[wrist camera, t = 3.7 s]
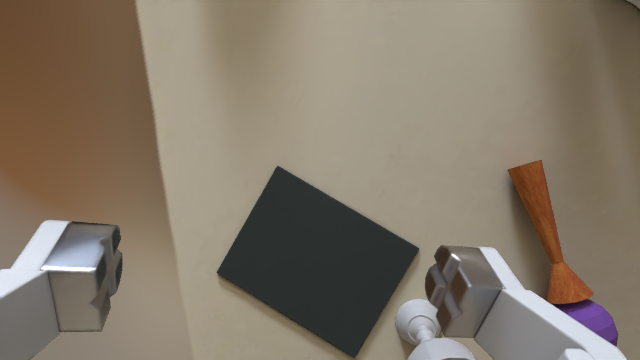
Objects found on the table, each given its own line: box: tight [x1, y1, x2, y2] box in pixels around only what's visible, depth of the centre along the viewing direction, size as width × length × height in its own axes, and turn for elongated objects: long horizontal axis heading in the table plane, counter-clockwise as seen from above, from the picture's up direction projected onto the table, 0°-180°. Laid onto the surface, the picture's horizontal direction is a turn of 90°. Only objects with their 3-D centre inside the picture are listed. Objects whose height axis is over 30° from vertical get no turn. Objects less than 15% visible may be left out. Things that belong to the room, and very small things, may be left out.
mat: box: [217, 166, 419, 358], centre depth 47 cm, size 18×14×1 cm
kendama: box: [508, 160, 618, 347], centre depth 43 cm, size 6×6×20 cm
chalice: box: [395, 299, 476, 360], centre depth 37 cm, size 7×7×18 cm
